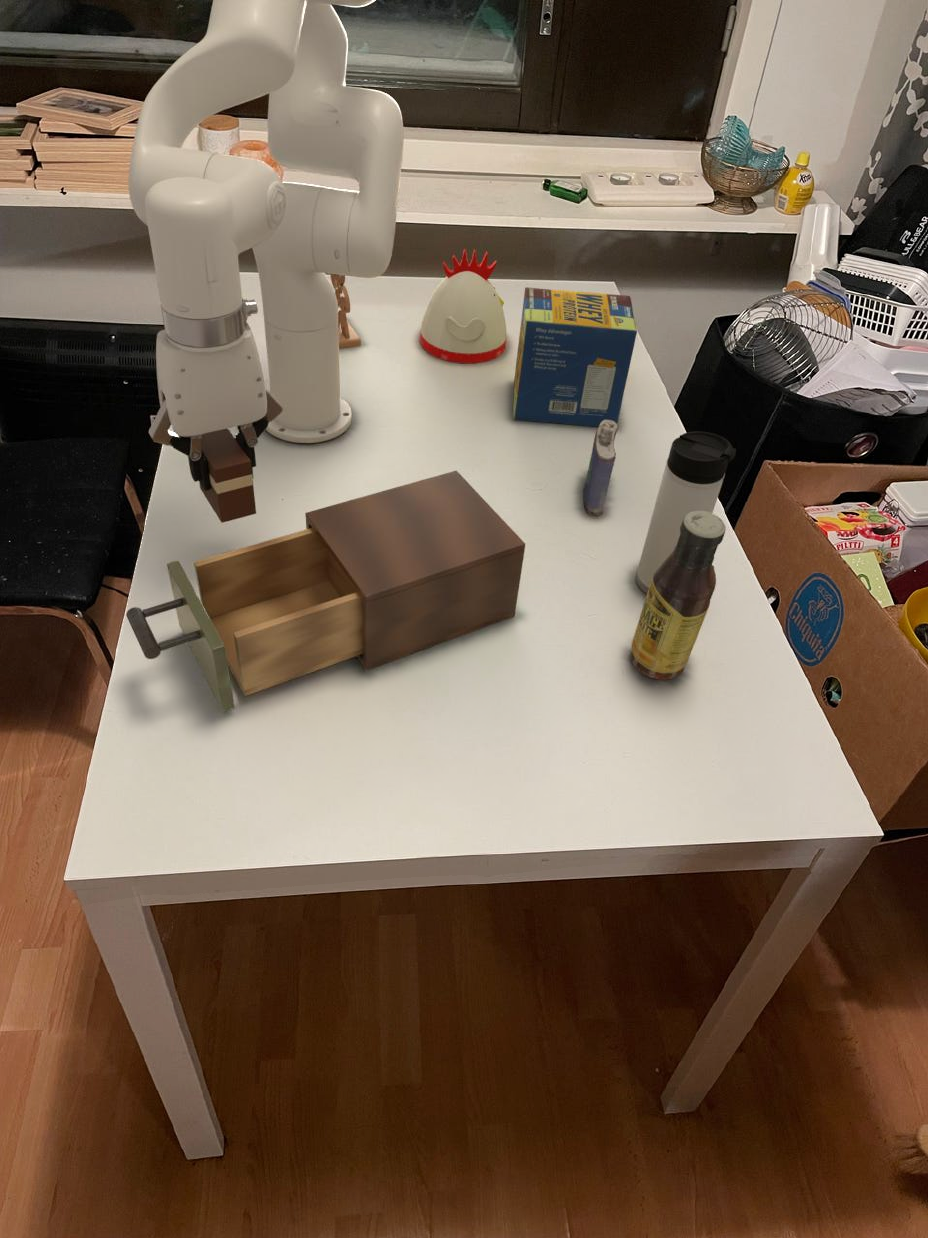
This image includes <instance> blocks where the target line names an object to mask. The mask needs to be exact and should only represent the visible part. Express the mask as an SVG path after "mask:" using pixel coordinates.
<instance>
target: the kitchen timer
mask: <svg viewBox="0 0 928 1238" xmlns="http://www.w3.org/2000/svg"><path fill="white" fill-rule="evenodd" d="M488 258H489V253H488V251H486V252H485V253H484V256H483V258H482V261H481V262H480V263H478V259H477V251H476V249H473V253H472V257H471V260H470V263H469V261H468V254H467V250H466V248H464V249H463V251H462V256H461V261H460V262H459V261H458V258H457V257H456V255H455V254H453V255H452V264H453V269H450V268H449V267H448V265H447V263H446V261H443V263H442V267H443V271H444V273H445V276H446V277H444V279H442V281H441V282H440V283H439V284H438V285H437V287H435V289H434V290H433V292H432V294H431V295H430V298H429V300H428V303H427V305H426V307H425V310H424V313H423V315H422V320H421V326H420V335H419V341H420V345H421V347H422V348H423V349H424V350H425V351H426V352H428V354H430V355H432V356H434V357H436V358H437V359H441V360H443V361H447V362H450V363H451V362H452V363H458V364H479V363H486V362H490V361H492V360H494V359H497V358H498V357H500V356H501V355H502V354H503V353H504V351H505V350H506V346H507V345H506V344H507V323H506V316H505V312H504V307H503V306H504V305H505V302H504V300H503V299H502V298H501V296H500V295H499V294H498V292H497V290H496V287H495V286H494V285H493V283H492V282H491V281H490V280H489V278H490V277H491V275H492V273H493V272H494V270H495V268H496V266H497V261H498V260H497V259H496V260H495V261H493V262H492V264H491V265H488V261H489V259H488Z"/></svg>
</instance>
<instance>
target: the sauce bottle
mask: <svg viewBox="0 0 928 1238" xmlns="http://www.w3.org/2000/svg"><path fill="white" fill-rule="evenodd" d="M725 533H726V524H725V523H724V520H722V518H721V517H719V515H716V514H714V513H710V512H706V511H693V512H690V513H689V514H687V515H686V516H685V517H684V519H683V521H682V524H681V526H680V536H679V539H678V542H677V545H676V546H675V548H674V551H673V552H672V553H671V554H670V555H669V556H668V558H667V559H666V560H665V561H664V562H663V563H662V565H661V566H660V567H659V568H658V569H657V570H656V572H655V573H654V575H653V577H652V580H651V584H650V586H649V590H648V593H647V594H646V597H645V599H644V603H643V605H642V610H641V611H640V615H639V619H638V622H637V625H636V627H635V632H634V635H633V638H632V641H631V651H630V660H631V662H632V665H633V666H634V668H635V669H637V670H638V672H640V673H641V674H642V675H643V676H645V677H647V678H650V679H651V678H652V679H654V680H659V681H660V680H664V681H665V680H666V681H667V680H671V679H673V678H676V677H677V676H679V675H681V674H682V672H684V670H685V666H686V665H687V664H688V661H689V659H690V657H691V654H692V652H693V649H694V646H695V644H696V641H697V638H698V637H699V633H700V631H701V628H702V626H703V623H704V621H705V618H706V615H707V614H708V610H709V609H710V604H711V599H712V597H713V594H714V592H715V590H716V585H717V575H716V571H715V566H714V565H713V562H714V560H715V554H716V552H717V550H718V547H719V545H720V544H722V542H723V540H724V537H725Z"/></svg>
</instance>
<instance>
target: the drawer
mask: <svg viewBox="0 0 928 1238" xmlns="http://www.w3.org/2000/svg"><path fill="white" fill-rule="evenodd" d="M193 565H194V572H195V577H196V583H197V588H198V594H199V596H198V594H197V592H196V590H195V588H194V586H193V585H192V583H191V581H190V579H189V577H188V575H187V574H186V572H185V570H184V568H183V566H182V565H181V563H180V561H179V560H178V559H177V560H174V561H171V562H168V563H166V567H167V572H168V576H169V581H170V586H171V592H172V597H173V600H170V601H167V602H164V603H160V604H157V605H154V606H150V607H147V608H144V609H141V608H140V607H138V606H137V607H136V606H135V607H131V608H129V609H128V610H127V612H126V614H125V615H126V618H127V620H128V622H129V625H130V627H131V629H132V631H133V633H134V636H135V638H136V641H137V642H138V645H139V647H140V649H141V651H142V653H143V655H144V657H145V659H148V660H154V659H156V658H159V656H160V655H161V653H162V651H166V650H169V649H172V648H175V647H179V646H181V645H184V644H188V645H189V647H190V649H191V651H192V654H193V655H194V657H195V660H196V661H197V663H198V665H199V667H200V669H201V671H202V673H203V675H204V677H205V679H206V681H207V683H208V685H209V687H210V689H211V690H212V693H213V695H214V696H215V699H216V700H217V702H218V704H219V706H220V708H221V710H222V712H227V711H229V710H233V709H235V702H234V695H233V689H232V682H231V676H230V672H231V673H232V675H233V678H234V679H235V681H236V682H237V684H238V687H239V688H240V690H241V692H242V694H243V696H245V697H246V696H249V695H251V694H255V693H257V692H261V691H263V690H266V689H268V688H272V687H274V686H277V685H280V684H282V683H286V682H288V681H292V680H293V679H296V678H300V677H303V676H304V675H307V674H310V673H313V672H317V671H319V670H322V669H324V668H327V667H330V666H333V665H335V664H338V663H340V662H341V663H342V662H344V661H346V660H349V659H352V658H356V657H357V656H358V655H361V654H363V610H362V596H361V595H360V594H359V592H358V591H357V589H356V588H355V587H354V585H353V584H352V582H351V581H350V580H349V578H348V577H347V575H346V574H345V573H344V571H343V570H342V568H341V567H340V566H339V564H338V563H337V561H336V560H335V559H334V557H333V556H332V554H331V553H330V552H329V550H328V549H327V547H326V546H325V545H324V543H323V542H322V540H321V539H320V538H319V536H318V535H317V534H316V532H315V531H314V529H313V528H309V529H303V530H300V531H299V530H298V531H295V532H293V533H290V534H286V535H285V534H284V535H283V536H279V537H275V538H272V539H268V540H265V541H261V542H257V543H255V544H252V545H251V544H250V545H247V546H244V547H241V548H237V549H234V550H230V551H227V552H223V553H220V554H216V555H214V556H210V557H207V558H203V559H200V560H196V561H194V562H193ZM171 610H175V612H176V615H177V621H178V625H179V629H180V630H181V632H182V635H179V636H176V637H173V638H170V639H167V640H163V641H161V642H158V641H157V639H156V638H155V637H156V636H155V635H154V633H153V631H152V629H151V627H150V624H149V623H148V621H147V618H149V617H152V616H155V615H158V614H161V613H165V612H169V611H171Z"/></svg>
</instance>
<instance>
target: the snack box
mask: <svg viewBox="0 0 928 1238" xmlns="http://www.w3.org/2000/svg"><path fill="white" fill-rule="evenodd" d="M235 438H236V437H235V435H233V433H232V432H231V431H230V428H227V429H222V430H218V431H214V432H209V433H205V434H203V444H202V451H203V454H204V455H205V457H206V458H207V461H208V467H209V476H210V483H211V488H210V490H207V491H205V490H204V489H203V487H202V485H201V484H200V482H199V481H198V483H199V489H200V491H201V492H202V494H203V496H204V498H205V499H206V500H207V502H208V503H209V505H210V507H211V508H212V511H213V512H214V513H215V515H216V516H217V518H218V520H219V521H220V523H221V524H223V523H226V522H230V521H235V520H237V519H241V518H246V517H249V516H253V515H257V507H256V497H255V488H254V478H253V477H254V473H253V474H252V468H251V461H250V459H249V458H248V456H247V455H246V454H245V452H244V451H243V449H242V448H241V446H240V445H239V444H238V442H237V441H236V439H235Z"/></svg>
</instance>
